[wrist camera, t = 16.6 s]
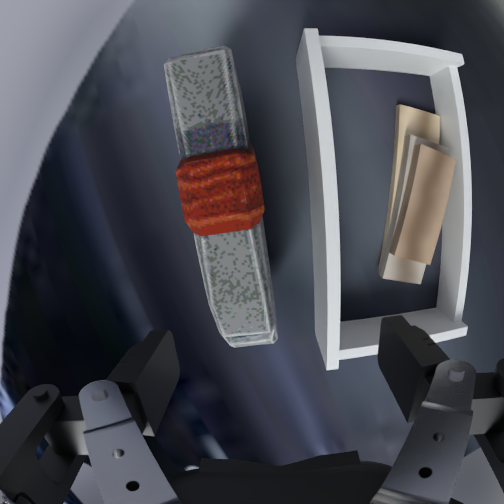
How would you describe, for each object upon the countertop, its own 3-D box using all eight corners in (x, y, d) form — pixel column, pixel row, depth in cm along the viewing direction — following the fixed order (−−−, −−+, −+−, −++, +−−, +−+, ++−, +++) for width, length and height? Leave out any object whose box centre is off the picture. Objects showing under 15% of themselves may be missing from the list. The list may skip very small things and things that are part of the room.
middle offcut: (441, 148, 38) (448, 148, 36) (414, 280, 42) (420, 284, 40) (404, 135, 37) (410, 134, 36) (377, 274, 42) (382, 278, 40)
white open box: (435, 68, 36) (469, 50, 26) (442, 314, 45) (472, 341, 35) (295, 58, 37) (304, 28, 27) (315, 333, 46) (326, 370, 36)
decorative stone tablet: (151, 53, 19) (221, 387, 29) (236, 34, 19) (287, 380, 28) (197, 93, 38) (234, 298, 47) (246, 84, 37) (277, 292, 47)
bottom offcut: (433, 117, 38) (440, 116, 36) (415, 270, 44) (421, 274, 42) (394, 106, 38) (399, 104, 36) (376, 267, 44) (381, 270, 42)
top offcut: (448, 159, 36) (455, 159, 34) (423, 261, 40) (429, 265, 38) (414, 144, 36) (421, 143, 34) (388, 252, 39) (394, 255, 37)
